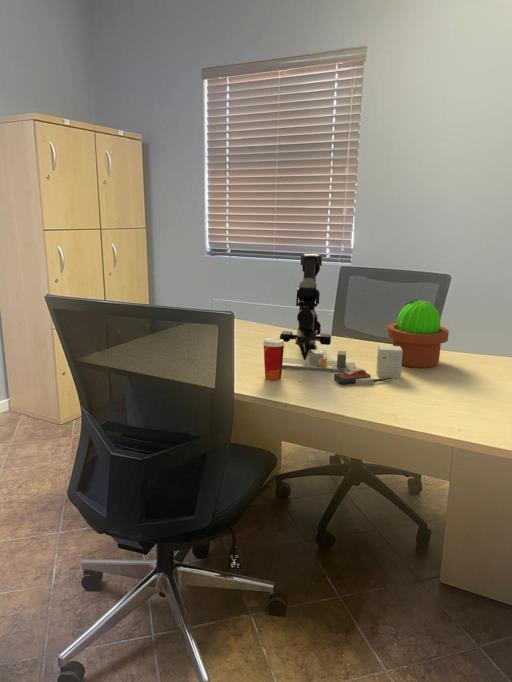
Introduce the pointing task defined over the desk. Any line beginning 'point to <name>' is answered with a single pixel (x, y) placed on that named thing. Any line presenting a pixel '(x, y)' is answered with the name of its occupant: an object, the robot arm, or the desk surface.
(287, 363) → the gauge board
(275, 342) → the paper cup
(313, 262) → the robot arm
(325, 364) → the block
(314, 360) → the grey faceted block
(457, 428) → the desk surface
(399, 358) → the small box
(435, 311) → the potted cactus
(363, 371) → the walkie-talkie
